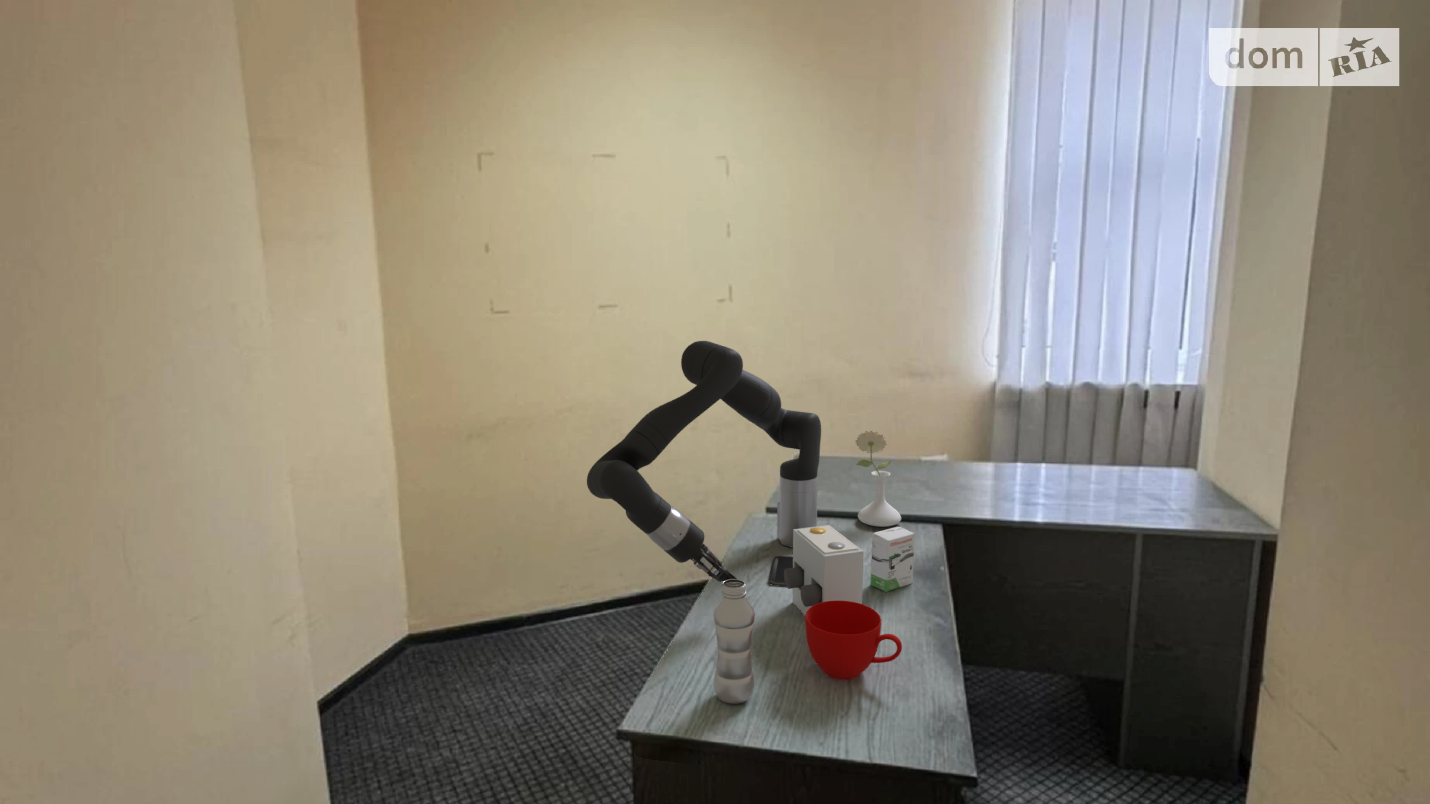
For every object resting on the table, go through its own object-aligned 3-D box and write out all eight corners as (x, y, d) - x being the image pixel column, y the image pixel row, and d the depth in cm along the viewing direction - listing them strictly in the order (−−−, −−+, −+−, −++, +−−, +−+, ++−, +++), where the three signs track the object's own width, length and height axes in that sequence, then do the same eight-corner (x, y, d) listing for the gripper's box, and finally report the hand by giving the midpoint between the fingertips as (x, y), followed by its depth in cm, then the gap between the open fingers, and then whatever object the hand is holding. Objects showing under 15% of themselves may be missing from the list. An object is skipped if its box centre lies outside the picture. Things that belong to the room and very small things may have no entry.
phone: (768, 582, 169) (774, 555, 183) (768, 586, 169) (774, 560, 184) (804, 584, 168) (808, 557, 182) (804, 588, 168) (808, 561, 182)
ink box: (885, 592, 165) (887, 540, 162) (869, 584, 169) (870, 533, 167) (914, 583, 169) (916, 531, 167) (897, 575, 174) (899, 525, 171)
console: (823, 635, 147) (824, 553, 143) (792, 602, 161) (793, 527, 157) (861, 629, 149) (863, 548, 146) (827, 597, 163) (829, 522, 160)
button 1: (791, 591, 154) (791, 573, 153) (783, 583, 158) (783, 565, 157) (809, 589, 155) (810, 570, 154) (801, 581, 159) (802, 563, 158)
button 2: (808, 610, 146) (809, 590, 145) (800, 601, 150) (800, 582, 149) (828, 607, 147) (828, 587, 146) (819, 598, 151) (819, 579, 150)
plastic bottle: (712, 688, 130) (710, 576, 126) (752, 685, 130) (752, 574, 126) (715, 710, 123) (714, 593, 119) (757, 707, 124) (757, 591, 120)
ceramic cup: (886, 706, 124) (888, 648, 122) (791, 676, 133) (792, 623, 131) (912, 669, 135) (914, 616, 133) (822, 644, 143) (823, 594, 142)
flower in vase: (907, 520, 208) (910, 430, 204) (892, 533, 199) (895, 439, 194) (861, 512, 215) (863, 424, 210) (845, 524, 206) (847, 433, 201)
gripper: (697, 529, 140) (760, 584, 146) (678, 507, 153) (737, 558, 159) (669, 560, 140) (733, 614, 146) (653, 535, 152) (713, 585, 158)
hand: (735, 584), depth 152 cm, fingers closed
